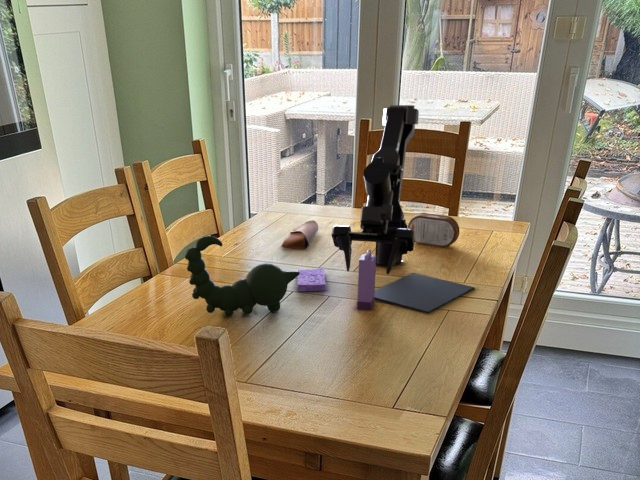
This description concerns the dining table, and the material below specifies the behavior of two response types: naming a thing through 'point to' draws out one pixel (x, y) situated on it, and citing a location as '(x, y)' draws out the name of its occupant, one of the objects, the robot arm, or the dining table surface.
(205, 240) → the toy figurine
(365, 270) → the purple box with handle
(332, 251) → the dining table surface
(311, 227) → the sunglasses case
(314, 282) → the sponge
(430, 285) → the placemat
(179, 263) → the dining table surface
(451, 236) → the tin
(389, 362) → the dining table surface
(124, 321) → the dining table surface
